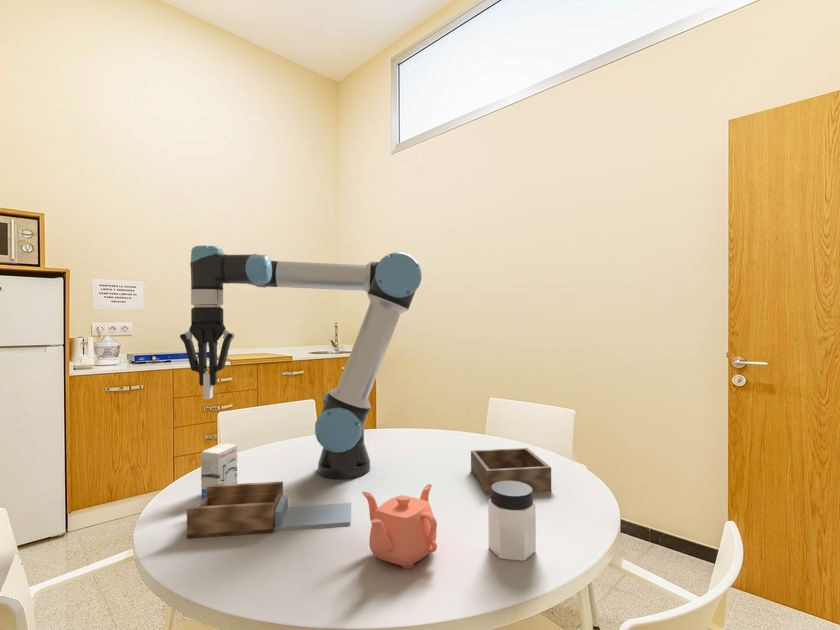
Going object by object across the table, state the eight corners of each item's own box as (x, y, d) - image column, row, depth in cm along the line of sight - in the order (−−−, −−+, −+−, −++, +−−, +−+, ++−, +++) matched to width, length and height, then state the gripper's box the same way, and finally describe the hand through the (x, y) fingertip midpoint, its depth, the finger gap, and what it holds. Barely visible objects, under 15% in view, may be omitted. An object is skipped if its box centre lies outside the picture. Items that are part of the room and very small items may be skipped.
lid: (351, 507, 108) (350, 490, 108) (350, 527, 98) (350, 508, 98) (282, 512, 106) (281, 494, 106) (274, 532, 96) (274, 513, 96)
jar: (504, 534, 94) (504, 476, 94) (541, 547, 89) (541, 486, 89) (481, 551, 87) (481, 489, 87) (519, 567, 82) (519, 500, 82)
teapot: (371, 582, 78) (370, 518, 78) (362, 541, 92) (361, 487, 91) (452, 570, 81) (451, 508, 81) (431, 532, 95) (430, 480, 95)
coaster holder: (527, 468, 133) (527, 447, 133) (551, 490, 117) (551, 467, 117) (471, 471, 131) (470, 450, 131) (487, 494, 114) (486, 470, 114)
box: (283, 506, 108) (283, 481, 108) (272, 532, 95) (272, 504, 95) (208, 511, 106) (208, 485, 106) (187, 538, 93) (186, 509, 93)
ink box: (218, 501, 112) (217, 453, 112) (200, 499, 113) (199, 452, 112) (238, 487, 120) (238, 443, 120) (221, 486, 121) (221, 442, 121)
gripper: (237, 306, 121) (238, 394, 121) (186, 306, 120) (187, 396, 120) (229, 306, 114) (230, 400, 114) (174, 306, 112) (175, 401, 112)
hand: (208, 398), depth 117 cm, fingers closed
